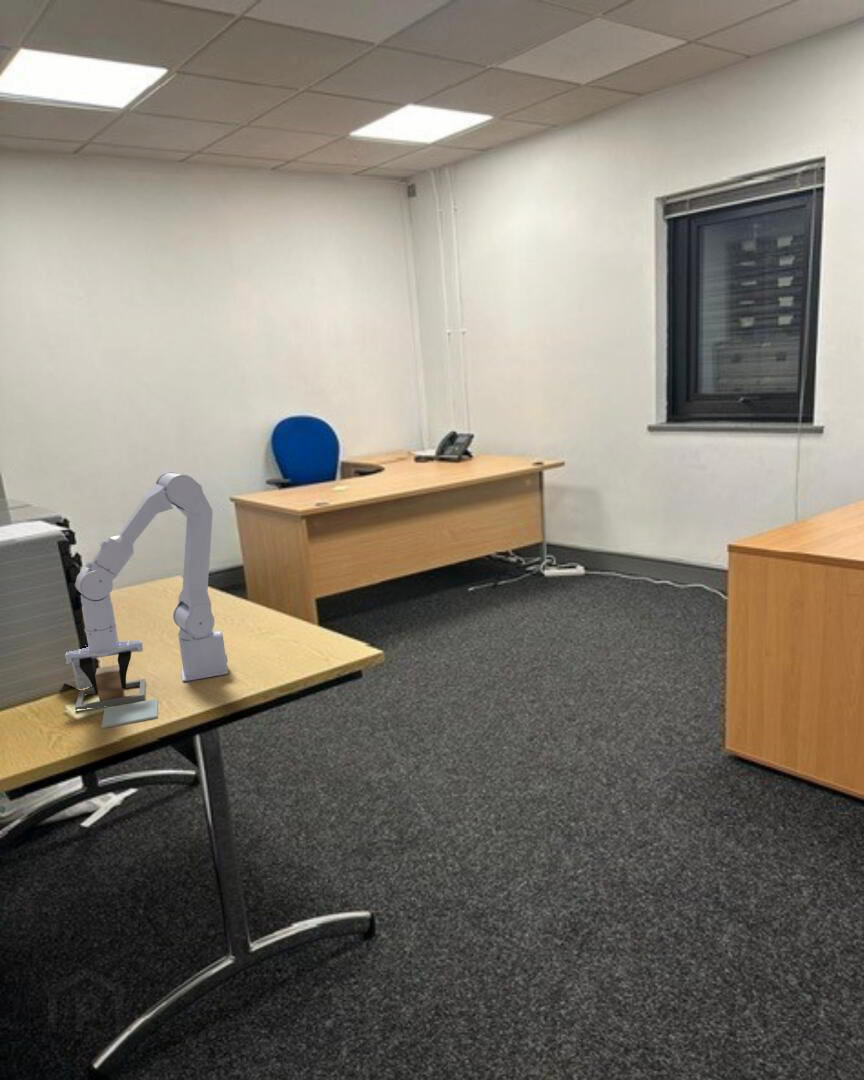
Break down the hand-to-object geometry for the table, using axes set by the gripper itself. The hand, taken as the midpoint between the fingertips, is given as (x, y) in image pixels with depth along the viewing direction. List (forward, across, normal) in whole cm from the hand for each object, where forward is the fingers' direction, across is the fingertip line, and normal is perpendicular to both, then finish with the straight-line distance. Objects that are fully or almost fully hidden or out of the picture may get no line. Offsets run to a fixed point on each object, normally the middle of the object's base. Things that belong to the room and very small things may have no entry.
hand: (111, 689), depth 161 cm
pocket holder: (+2, 0, 0) cm, 2 cm away
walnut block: (+2, 0, 0) cm, 2 cm away
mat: (+2, +4, -11) cm, 12 cm away
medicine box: (+2, -7, +11) cm, 13 cm away
